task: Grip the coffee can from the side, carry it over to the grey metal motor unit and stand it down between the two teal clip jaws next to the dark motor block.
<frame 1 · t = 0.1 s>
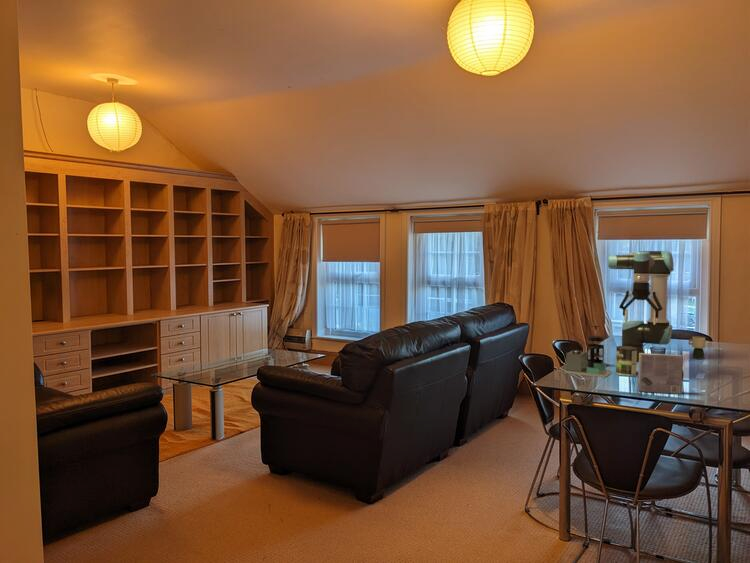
hand: (640, 323, 303), 28 cm above the table, tool pointing down, fingers open, 13 cm apart
motor unit: (588, 372, 315), on the table
cake pan box: (660, 392, 272), on the table
coffee can: (626, 374, 313), on the table
character mug: (698, 358, 355), on the table
french press: (594, 366, 333), on the table
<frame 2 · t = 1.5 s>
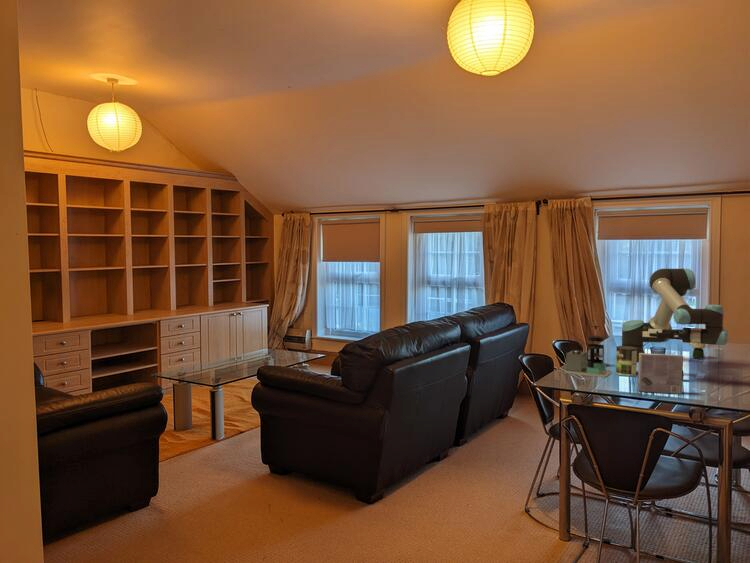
hand: (645, 332, 307), 23 cm above the table, tool horizontal, fingers open, 13 cm apart
nothing on the table moved.
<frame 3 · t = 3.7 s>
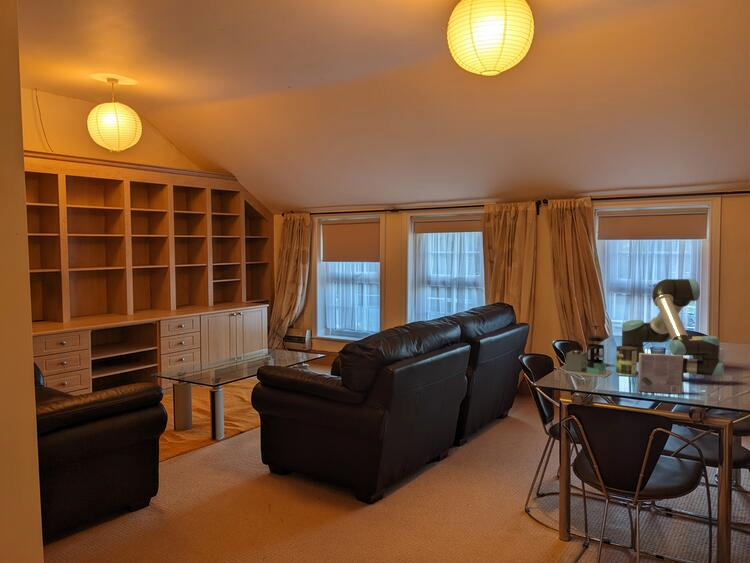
hand: (641, 361, 308), 7 cm above the table, tool horizontal, fingers open, 13 cm apart
nothing on the table moved.
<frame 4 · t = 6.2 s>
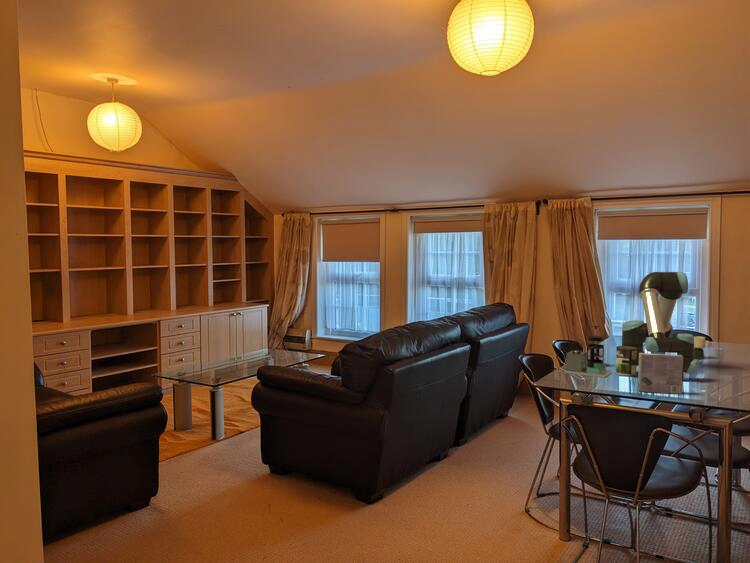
hand: (618, 358, 315), 8 cm above the table, tool horizontal, fingers closed on coffee can, 10 cm apart
coffee can: (626, 374, 313), on the table, touching gripper
everything else where it was.
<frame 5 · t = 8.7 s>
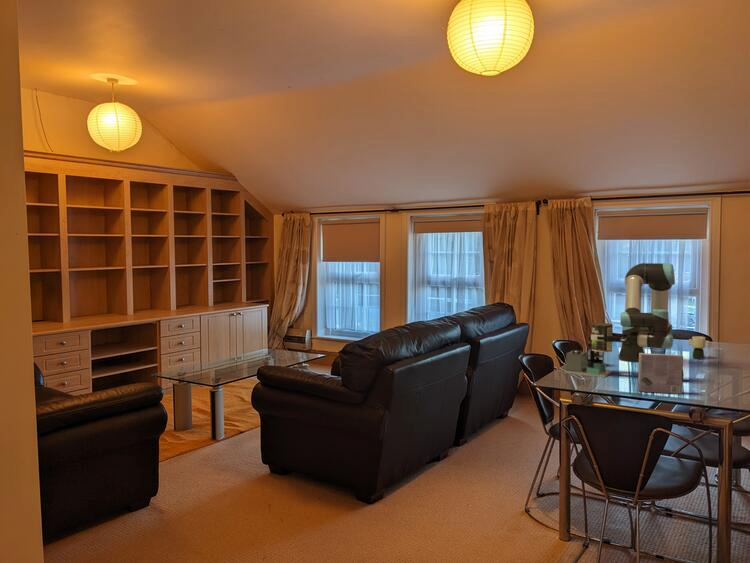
hand: (593, 335, 313), 20 cm above the table, tool horizontal, fingers closed on coffee can, 10 cm apart
coffee can: (601, 351, 311), point 12 cm above the table, touching gripper
everything else where it was.
when the fingers open (11 cm above the table, at t = 11.2 s): coffee can drops 2 cm, resting on motor unit.
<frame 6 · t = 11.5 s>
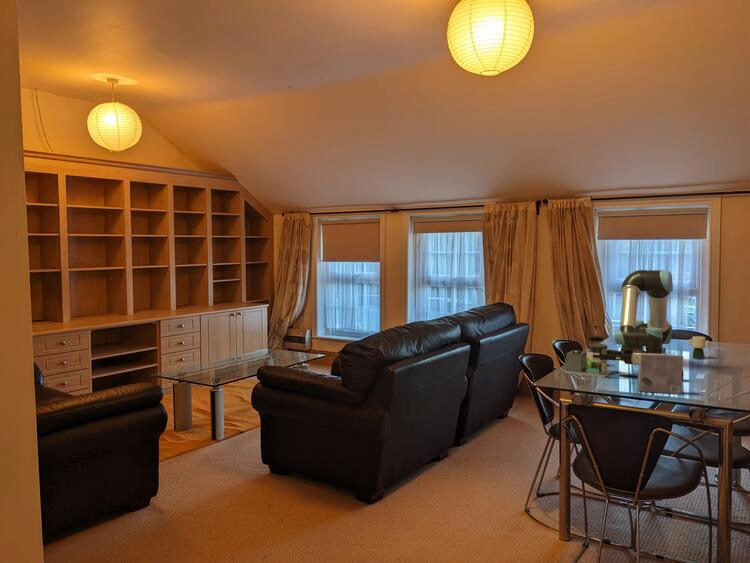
hand: (590, 353, 314), 11 cm above the table, tool horizontal, fingers open, 13 cm apart
coffee can: (596, 371, 313), point 1 cm above the table, touching motor unit
everything else where it was.
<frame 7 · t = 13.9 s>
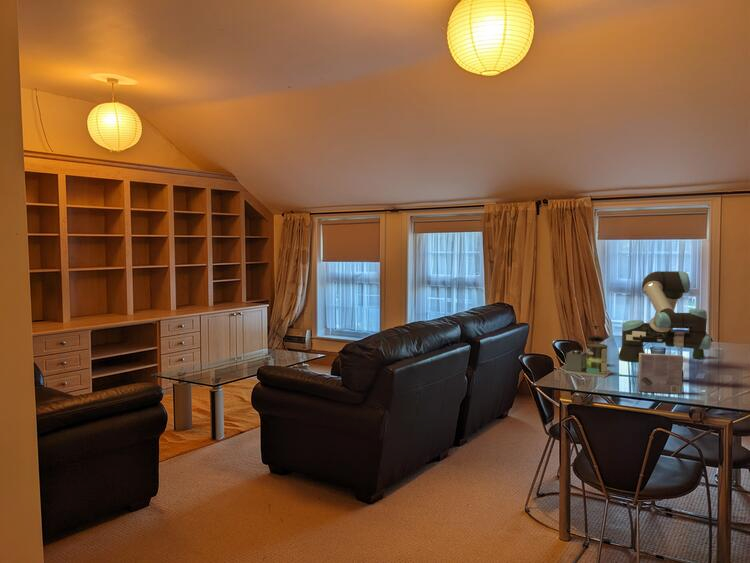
hand: (629, 335, 304), 21 cm above the table, tool horizontal, fingers open, 13 cm apart
nothing on the table moved.
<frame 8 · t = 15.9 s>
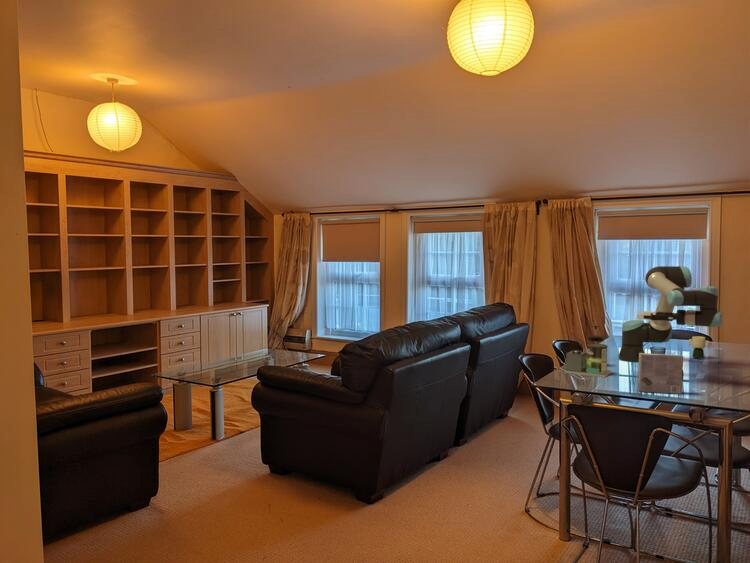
hand: (639, 314, 304), 32 cm above the table, tool horizontal, fingers open, 13 cm apart
nothing on the table moved.
at the end: coffee can 0.1 cm from the target spot on the motor unit, point 1.0 cm above the motor unit's base; coffee can tilted 0°; the gripper is holding nothing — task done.
